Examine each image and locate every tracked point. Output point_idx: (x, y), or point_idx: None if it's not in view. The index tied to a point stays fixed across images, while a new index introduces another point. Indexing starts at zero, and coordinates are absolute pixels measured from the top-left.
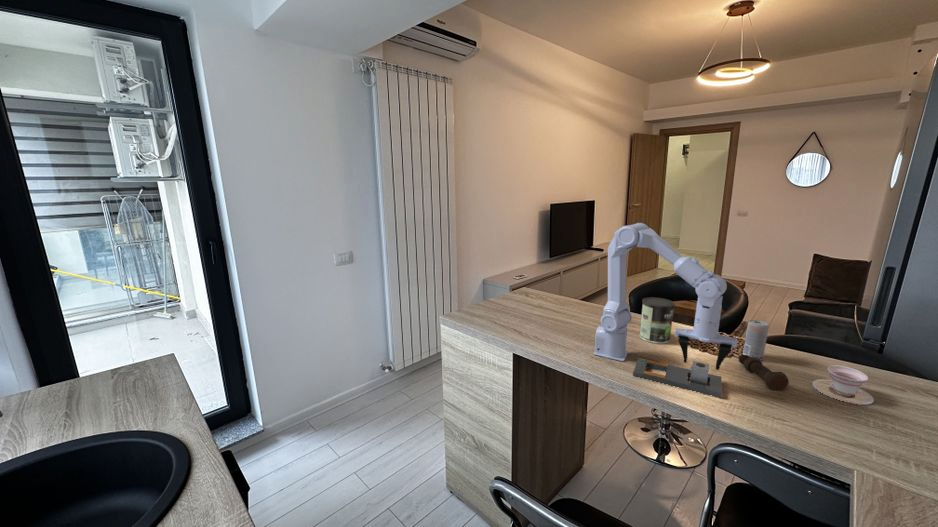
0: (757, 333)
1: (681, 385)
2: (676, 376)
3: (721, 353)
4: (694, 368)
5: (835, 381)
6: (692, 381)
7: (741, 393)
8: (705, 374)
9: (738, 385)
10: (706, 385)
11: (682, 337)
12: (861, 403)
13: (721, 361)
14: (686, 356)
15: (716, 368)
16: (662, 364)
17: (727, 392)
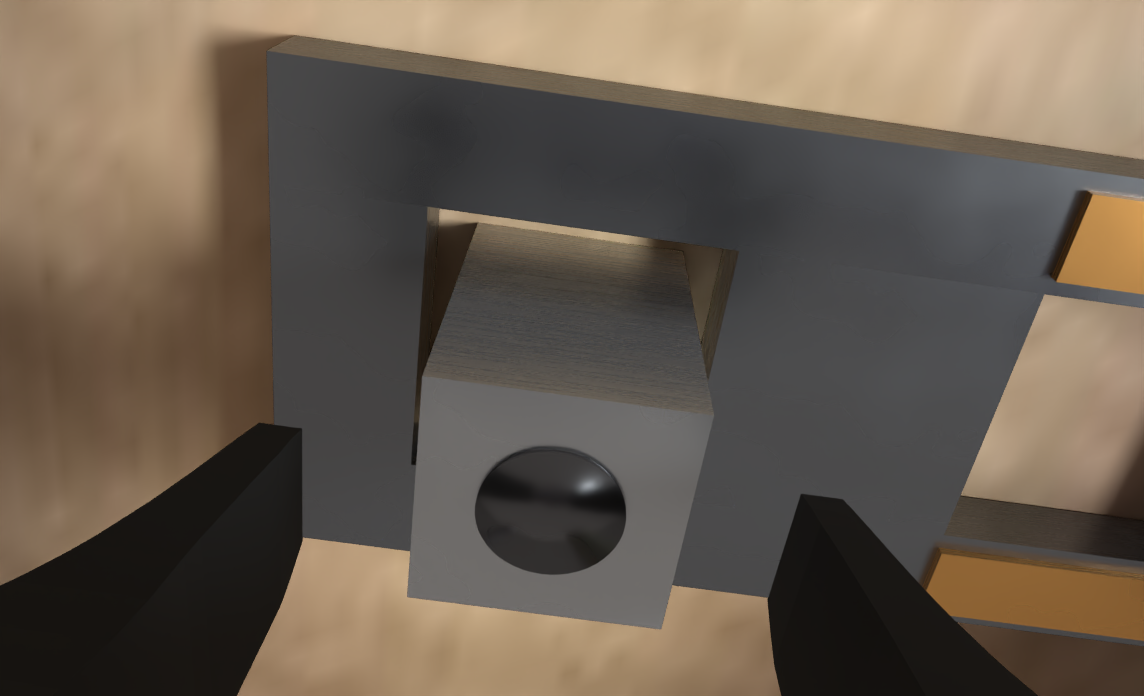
0: None
1: (831, 126)
2: (870, 333)
3: (13, 668)
4: (665, 393)
5: None
6: (657, 275)
7: (67, 290)
8: (482, 333)
9: (111, 467)
10: (471, 247)
11: None
12: None
13: (132, 522)
14: (864, 578)
15: (285, 436)
16: (994, 587)
17: (222, 250)
